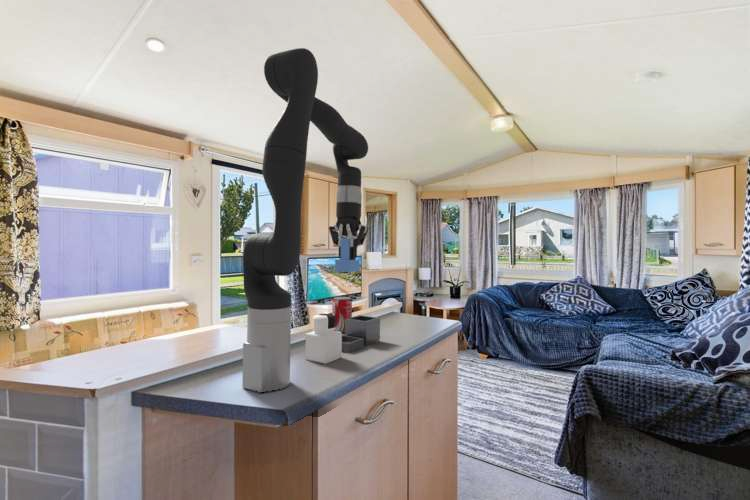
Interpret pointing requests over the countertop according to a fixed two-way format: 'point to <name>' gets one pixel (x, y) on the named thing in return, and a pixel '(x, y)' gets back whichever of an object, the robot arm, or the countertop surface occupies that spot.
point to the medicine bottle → (323, 340)
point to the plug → (346, 258)
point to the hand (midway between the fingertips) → (347, 259)
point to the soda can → (341, 312)
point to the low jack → (351, 343)
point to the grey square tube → (363, 328)
